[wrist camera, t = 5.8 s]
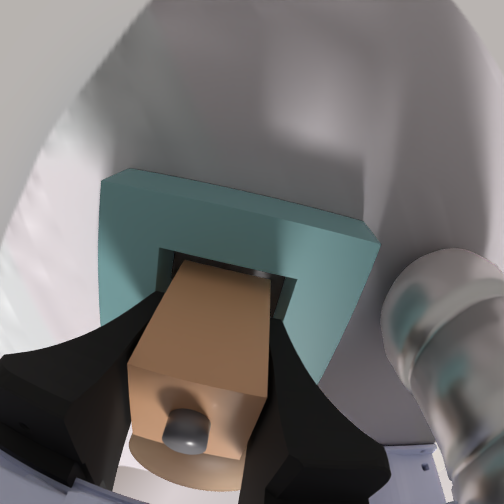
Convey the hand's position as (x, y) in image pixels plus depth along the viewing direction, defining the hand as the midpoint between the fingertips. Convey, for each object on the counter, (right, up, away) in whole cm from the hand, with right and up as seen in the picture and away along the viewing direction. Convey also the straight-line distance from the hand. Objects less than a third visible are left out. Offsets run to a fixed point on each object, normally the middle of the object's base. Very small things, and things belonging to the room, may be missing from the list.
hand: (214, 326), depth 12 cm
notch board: (0, +2, +2) cm, 3 cm away
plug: (0, +1, +2) cm, 2 cm away
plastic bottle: (+10, +1, +2) cm, 11 cm away
